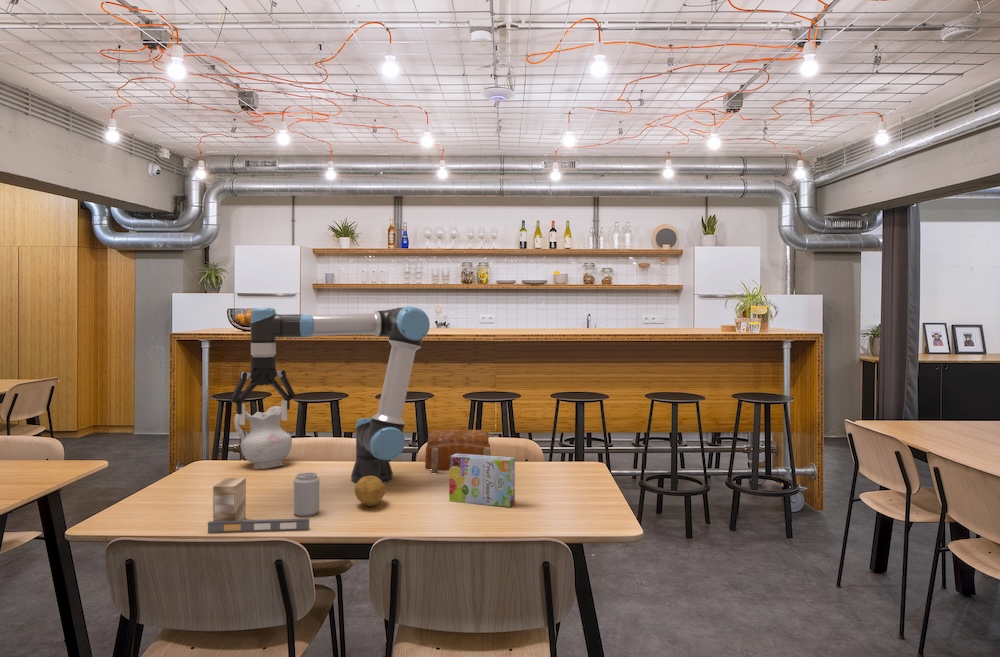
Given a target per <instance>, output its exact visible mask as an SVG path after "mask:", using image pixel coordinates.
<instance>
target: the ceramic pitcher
mask: <svg viewBox="0 0 1000 657" xmlns="http://www.w3.org/2000/svg"><path fill="white" fill-rule="evenodd" d="M247 409H248V408H247V407H245V419H246V420H247V421H248V422H249V426H250V428H249V429H250V430H249V432H248V434H246V436H245V434H244V431H243V430H242V428H241V424H239V414H237V413H236V414H235V415H234V418H233V419H234V422H233V423H234V428H235V431H236V433H237V435H238V437H239V438H240V450H241V453H242V455H243V457H244V459H246V460H247V461H248V462H250V463H254V464H253V467H252V468H253V469H254V470H255V469H256V470H265V469H271V468H277V467H282V466H283V467H284V466H285V465H286V463H283V462H282V461H283V459H285V458H286V457H288V455H289V454H290V452H291V450H292V446H293V439H292V435H290V434H289V433H288V432H287V431H285V430H284V429H283V428H282V426H281V421H282V405H281V406H279V405H273V406H271V407H269V408H268V409H267V410H266V412H260V411H256V412H255V413H254V414H253V415H251V414H250V413H249V412H248V411H247ZM288 411H289V410H287V412H288Z"/></svg>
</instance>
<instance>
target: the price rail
mask: <svg viewBox="0 0 1000 657" xmlns="http://www.w3.org/2000/svg"><path fill="white" fill-rule="evenodd" d="M300 530H301V531H304V530H305V531H307V530H310V518H309V517H307V518H281V519H280V518H276V519H275V518H274V519H271V518H270V519H244V520H234V521H213V520H209V521H208V522H207V533H208V534H210V533H235V532H236V533H237V532H239V533H240V532H241V533H243V532H270V531H271V532H272V531H300Z"/></svg>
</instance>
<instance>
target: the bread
mask: <svg viewBox="0 0 1000 657" xmlns="http://www.w3.org/2000/svg"><path fill="white" fill-rule="evenodd" d="M484 447H490V448H491V445H490V441H489V434H488V432H486V431H485V430H483V429H464V428H463V429H461V428H460V429H459V428H455V429H454V428H453V429H452V428H450V429H449V428H448V429H439V430H438V429H435V430H432V431H431V432H430V434H429V435H428V438H427V443H426V447H425V457H424V458H425V460H424V464H425V467H424V468H426V469H432V448H438V471H449V469H450V456H452V455H454V454H471V455H484ZM491 454H492V453H491V452H490V456H492V455H491ZM426 469H425V470H426Z"/></svg>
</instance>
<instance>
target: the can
mask: <svg viewBox="0 0 1000 657" xmlns="http://www.w3.org/2000/svg"><path fill="white" fill-rule="evenodd" d="M319 511H320V477H318V473H317V472H301V473H297V474H296V475H295V478H294V479H293V513H294V514H295V515H296V516H298V517H312V516H315V515H316V514H317V513H318V512H319Z"/></svg>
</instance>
